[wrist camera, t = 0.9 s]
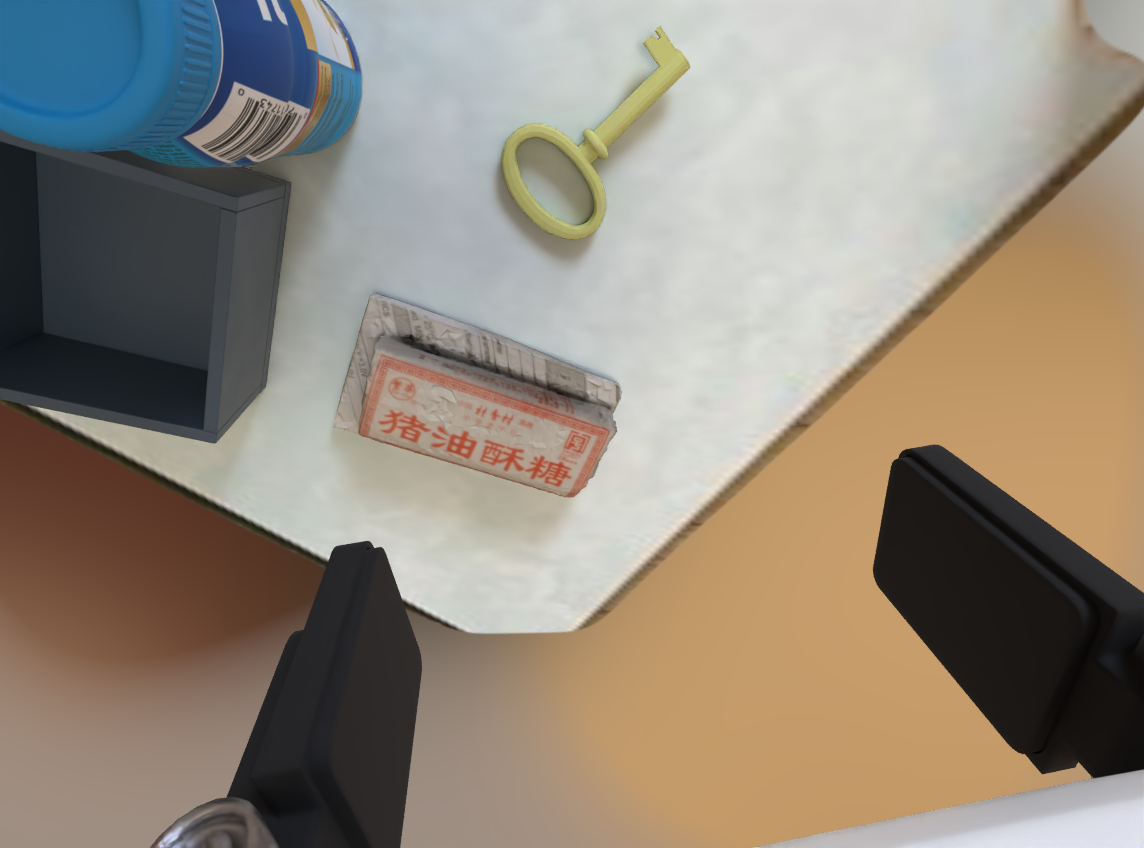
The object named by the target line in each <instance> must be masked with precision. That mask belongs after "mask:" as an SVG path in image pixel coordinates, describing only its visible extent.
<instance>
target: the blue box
mask: <svg viewBox="0 0 1144 848" xmlns="http://www.w3.org/2000/svg"><path fill="white" fill-rule="evenodd" d="M290 188H291V183H290V182H287V181H284V180H280V179H277V178H274V177H271V176H268V175H265V174H262V173H258V172H255V171H252V170H249V169H246V168H243V167H206V168H189V167H179V166H173V165H168V164H164V163H160V162H157V161H153V160H150V159H147V158H145V157H142V156H140V155H137V154H135V153H133V152H131V151H128V150H117V151H100V152H95V151H93V152H83V151H71V150H70V149H58V148H57V147H47V146H46V145H42V144H38V143H34V142H31V141H28V140H25V139H22V138H19V137H16V136H14V135H11V134H9V133H7V132H4V131H2V130H0V399H2V400H7V401H11V402H16V403H21V404H26V405H31V406H36V407H41V408H45V409H50V410H55V411H60V412H65V413H70V414H74V415H79V416H84V417H89V418H94V419H99V420H103V421H108V422H113V423H118V424H123V425H128V426H132V427H137V428H142V429H147V430H152V431H157V432H161V433H166V434H171V435H176V436H181V437H186V438H190V439H195V440H200V441H205V442H210V443H217V441H218V440H219V439H220V438H221V437H222V436H223V435H224V433H225V432H226V431H227V430H228V429H229V428H230V427H231V425H232V424H233V423H234V422H235V421H236V420H237V419H238V418H239V416H240V415H241V414H242V413H243V412H244V411H245V410H246V408H247V407H248V406H249V405H250V404H251V403H252V402H253V400H254V399H255V398H256V397H257V396H258V395H259V394H260V393H261V392H262V391H263V389H264V388H265V387H266V381H267V373H268V365H269V357H270V349H271V341H272V333H273V325H274V317H275V309H276V300H277V292H278V284H279V276H280V268H281V260H282V252H283V244H284V236H285V228H286V220H287V212H288V204H289V196H290Z"/></svg>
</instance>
